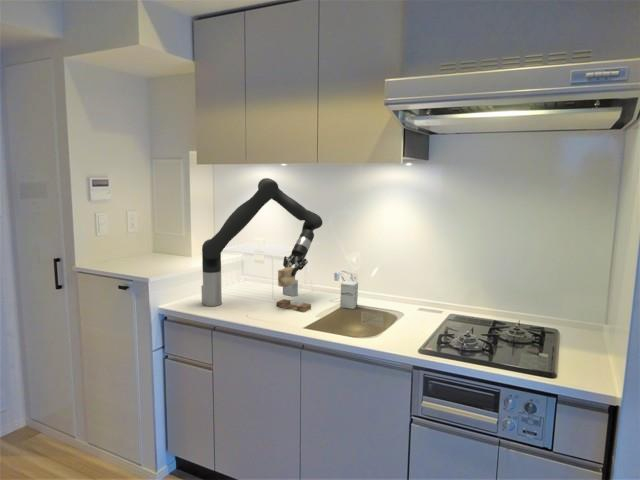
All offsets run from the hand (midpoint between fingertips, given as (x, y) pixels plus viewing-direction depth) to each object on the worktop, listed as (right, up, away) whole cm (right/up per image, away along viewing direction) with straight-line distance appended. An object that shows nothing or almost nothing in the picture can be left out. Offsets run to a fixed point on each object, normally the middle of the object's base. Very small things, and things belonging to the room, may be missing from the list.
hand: (288, 275), depth 232 cm
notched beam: (+2, -17, +2) cm, 17 cm away
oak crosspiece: (-1, -5, -1) cm, 5 cm away
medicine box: (-1, -13, +27) cm, 30 cm away
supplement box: (+30, -17, +5) cm, 35 cm away
